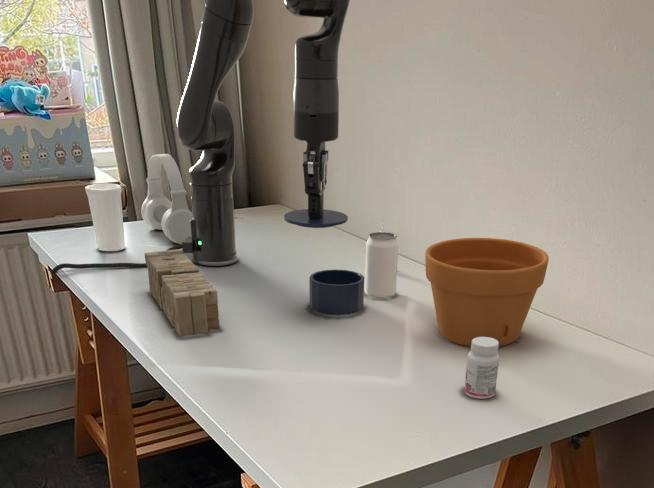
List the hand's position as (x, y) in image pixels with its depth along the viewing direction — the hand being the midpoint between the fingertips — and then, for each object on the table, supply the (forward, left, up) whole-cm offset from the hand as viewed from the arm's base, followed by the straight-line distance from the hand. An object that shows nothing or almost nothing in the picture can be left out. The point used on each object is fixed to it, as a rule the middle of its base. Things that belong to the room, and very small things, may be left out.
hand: (315, 214), depth 138 cm
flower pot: (+30, -5, -19) cm, 36 cm away
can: (+11, +15, -19) cm, 27 cm away
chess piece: (+10, +34, -19) cm, 40 cm away
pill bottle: (+29, -31, -19) cm, 47 cm away
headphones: (-45, +55, -19) cm, 73 cm away
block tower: (-26, -1, -19) cm, 32 cm away
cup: (-55, +40, -19) cm, 70 cm away
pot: (+3, +5, -19) cm, 20 cm away
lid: (0, 0, -1) cm, 1 cm away
